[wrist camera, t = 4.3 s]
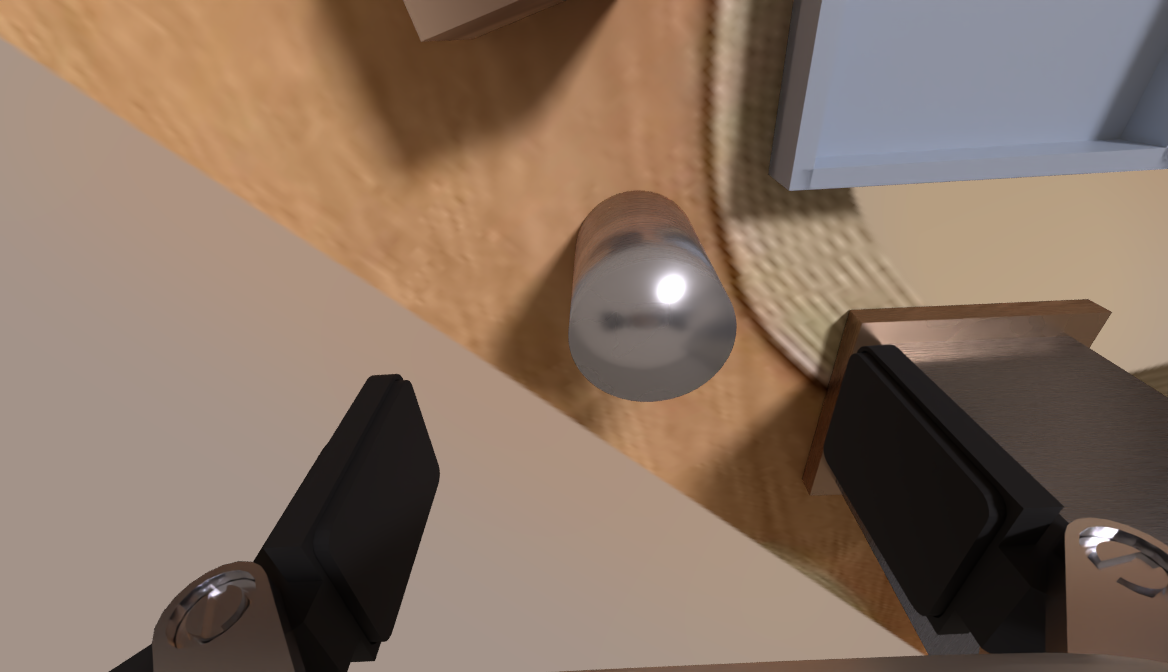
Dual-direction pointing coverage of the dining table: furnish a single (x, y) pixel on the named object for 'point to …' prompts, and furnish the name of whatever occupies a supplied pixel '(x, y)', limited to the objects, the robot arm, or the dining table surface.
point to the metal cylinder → (646, 301)
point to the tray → (970, 91)
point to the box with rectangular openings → (1025, 411)
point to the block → (468, 16)
